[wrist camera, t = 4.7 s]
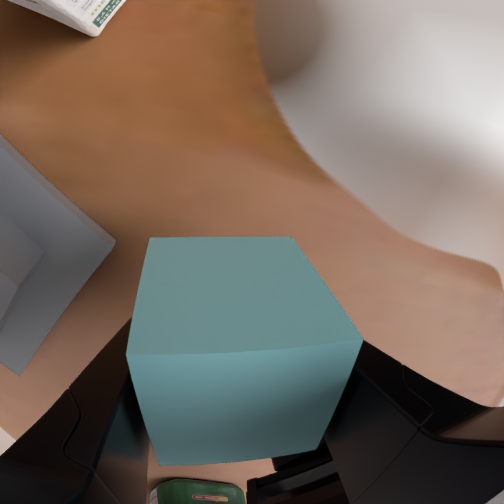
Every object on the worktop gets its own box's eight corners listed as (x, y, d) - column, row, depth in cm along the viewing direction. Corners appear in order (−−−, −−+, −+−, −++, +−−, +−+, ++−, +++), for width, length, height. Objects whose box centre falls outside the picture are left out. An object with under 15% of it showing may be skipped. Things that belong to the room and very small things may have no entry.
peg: (275, 341, 11) (315, 449, 7) (160, 347, 10) (159, 465, 6) (291, 236, 9) (363, 339, 5) (150, 237, 8) (125, 354, 4)
